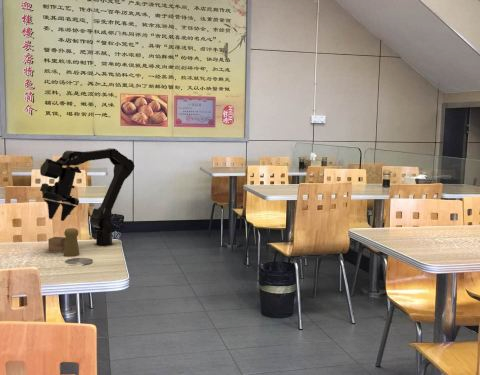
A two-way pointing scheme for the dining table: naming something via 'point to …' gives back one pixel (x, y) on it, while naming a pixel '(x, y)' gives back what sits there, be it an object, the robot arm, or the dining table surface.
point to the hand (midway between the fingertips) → (56, 219)
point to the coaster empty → (79, 261)
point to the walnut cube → (56, 244)
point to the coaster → (52, 252)
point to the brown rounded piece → (71, 243)
